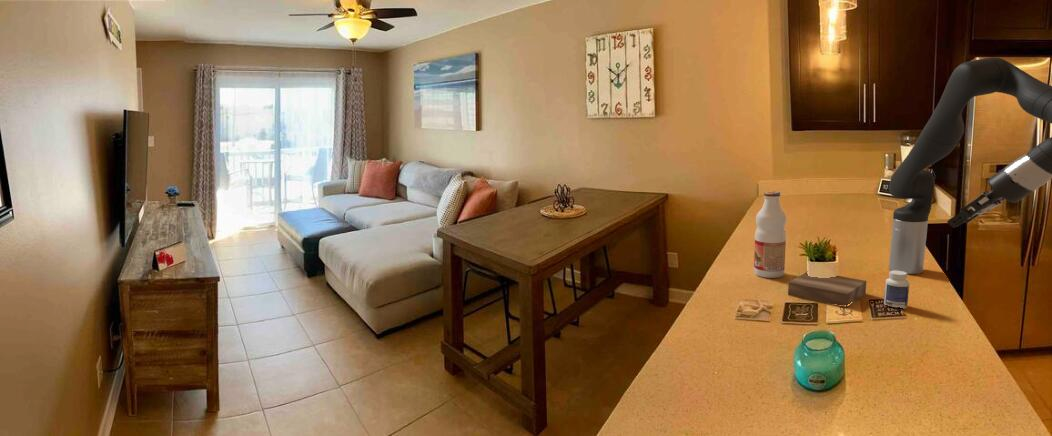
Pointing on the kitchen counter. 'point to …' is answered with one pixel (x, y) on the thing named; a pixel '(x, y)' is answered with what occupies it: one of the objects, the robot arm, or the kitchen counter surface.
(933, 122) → the robot arm
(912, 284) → the kitchen counter surface
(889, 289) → the pill bottle
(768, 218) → the fruit juice
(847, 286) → the walnut base
